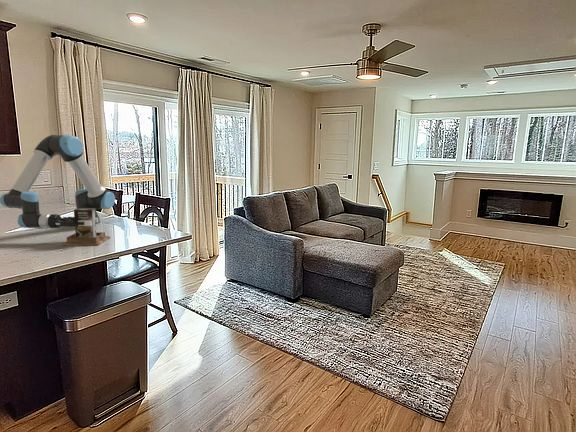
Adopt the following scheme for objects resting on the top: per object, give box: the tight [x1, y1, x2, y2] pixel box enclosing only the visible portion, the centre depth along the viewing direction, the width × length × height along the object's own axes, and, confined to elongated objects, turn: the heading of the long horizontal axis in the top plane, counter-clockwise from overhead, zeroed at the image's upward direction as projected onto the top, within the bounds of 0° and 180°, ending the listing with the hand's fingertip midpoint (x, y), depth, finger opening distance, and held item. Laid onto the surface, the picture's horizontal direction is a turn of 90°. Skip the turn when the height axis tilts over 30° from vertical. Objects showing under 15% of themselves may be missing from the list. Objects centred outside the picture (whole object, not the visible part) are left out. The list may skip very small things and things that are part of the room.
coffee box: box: [73, 208, 97, 237], centre depth 202 cm, size 9×6×16 cm
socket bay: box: [62, 231, 111, 246], centre depth 204 cm, size 16×18×4 cm
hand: (94, 221), depth 202 cm, fingers closed on coffee box, 7 cm apart
